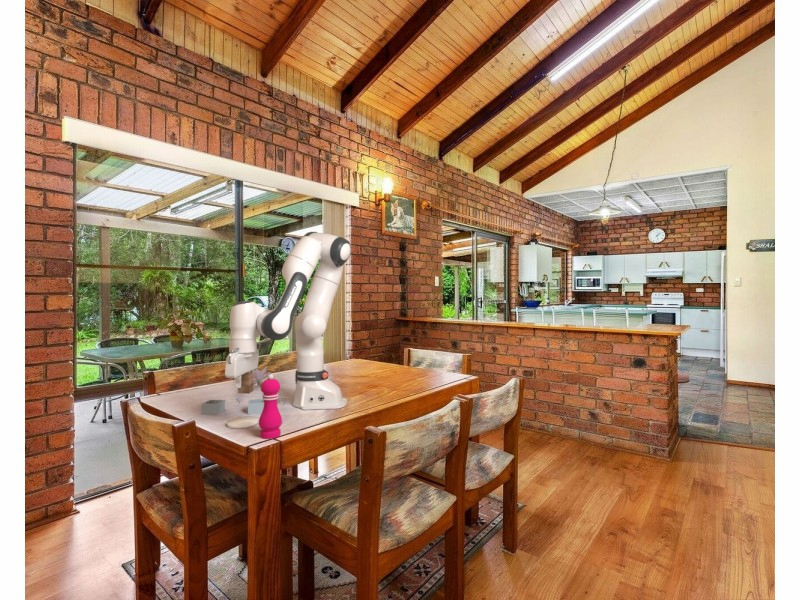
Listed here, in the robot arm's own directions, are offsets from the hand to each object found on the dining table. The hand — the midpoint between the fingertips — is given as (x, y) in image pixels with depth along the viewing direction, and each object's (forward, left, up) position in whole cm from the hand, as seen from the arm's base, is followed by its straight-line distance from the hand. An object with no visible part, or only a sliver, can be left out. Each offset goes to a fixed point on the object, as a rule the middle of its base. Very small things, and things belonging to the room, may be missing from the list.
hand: (242, 385), depth 144 cm
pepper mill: (-14, +11, -14) cm, 23 cm away
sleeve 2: (+1, -16, -14) cm, 21 cm away
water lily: (+16, -56, -14) cm, 60 cm away
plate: (0, 0, -14) cm, 14 cm away
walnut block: (-1, 0, -2) cm, 2 cm away
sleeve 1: (+17, -14, -14) cm, 26 cm away
